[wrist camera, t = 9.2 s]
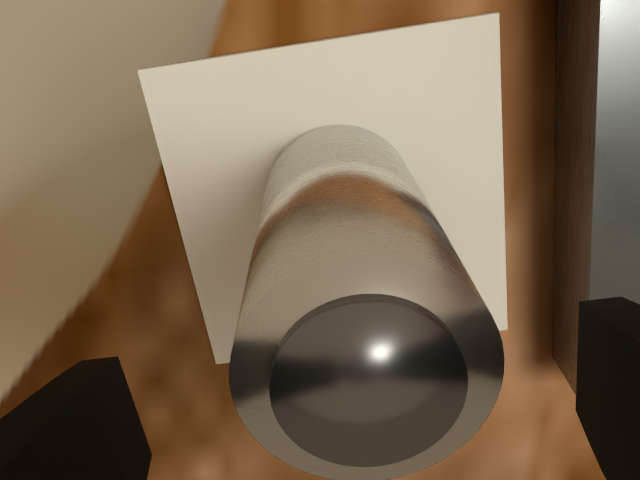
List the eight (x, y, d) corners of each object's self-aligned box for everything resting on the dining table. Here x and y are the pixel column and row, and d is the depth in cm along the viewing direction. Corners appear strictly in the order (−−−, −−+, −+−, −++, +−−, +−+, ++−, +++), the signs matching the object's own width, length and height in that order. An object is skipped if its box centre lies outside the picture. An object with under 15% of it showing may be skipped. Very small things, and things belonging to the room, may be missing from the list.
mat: (494, 11, 14) (499, 12, 14) (503, 322, 18) (507, 329, 17) (141, 68, 15) (137, 70, 15) (218, 356, 19) (216, 364, 18)
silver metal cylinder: (404, 112, 15) (506, 240, 7) (418, 252, 16) (514, 477, 9) (251, 138, 15) (195, 288, 7) (280, 273, 17) (258, 512, 9)
